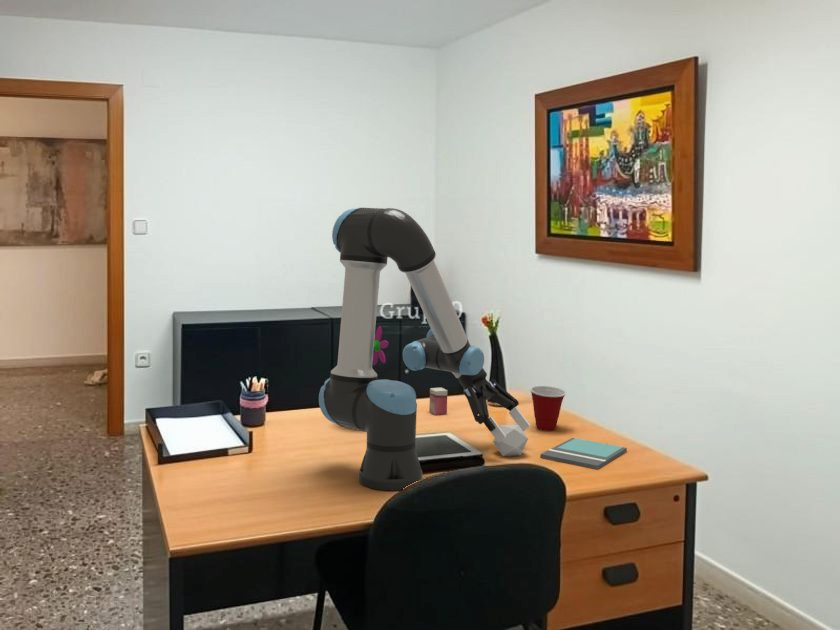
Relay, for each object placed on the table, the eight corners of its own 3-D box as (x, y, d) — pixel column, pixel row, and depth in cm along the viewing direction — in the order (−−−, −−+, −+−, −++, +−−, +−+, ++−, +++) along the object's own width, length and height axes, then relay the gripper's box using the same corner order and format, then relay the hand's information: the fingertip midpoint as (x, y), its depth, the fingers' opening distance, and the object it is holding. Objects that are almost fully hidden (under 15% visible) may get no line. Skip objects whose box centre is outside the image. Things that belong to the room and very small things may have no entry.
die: (521, 463, 211) (536, 430, 214) (492, 446, 210) (509, 414, 213) (511, 465, 219) (527, 433, 221) (484, 449, 218) (500, 418, 221)
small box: (428, 411, 261) (429, 387, 260) (441, 410, 263) (441, 387, 262) (434, 415, 256) (435, 391, 255) (447, 414, 258) (447, 390, 257)
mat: (597, 469, 204) (597, 465, 204) (540, 457, 213) (540, 453, 213) (626, 451, 221) (626, 447, 220) (572, 441, 230) (572, 437, 230)
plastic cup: (549, 435, 235) (550, 395, 234) (521, 427, 244) (522, 388, 242) (572, 429, 243) (574, 390, 241) (544, 422, 251) (545, 384, 249)
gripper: (482, 372, 234) (527, 431, 228) (434, 387, 214) (482, 452, 207) (499, 356, 231) (545, 416, 224) (452, 370, 210) (501, 436, 204)
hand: (515, 434), depth 216 cm, fingers open, 13 cm apart
